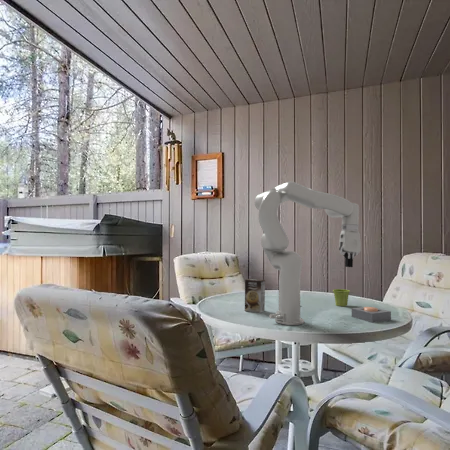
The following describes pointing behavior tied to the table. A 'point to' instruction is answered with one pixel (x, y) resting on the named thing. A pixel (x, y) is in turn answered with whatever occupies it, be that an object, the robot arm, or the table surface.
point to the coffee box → (255, 295)
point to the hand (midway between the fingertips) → (348, 266)
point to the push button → (371, 309)
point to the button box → (371, 315)
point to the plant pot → (341, 297)
